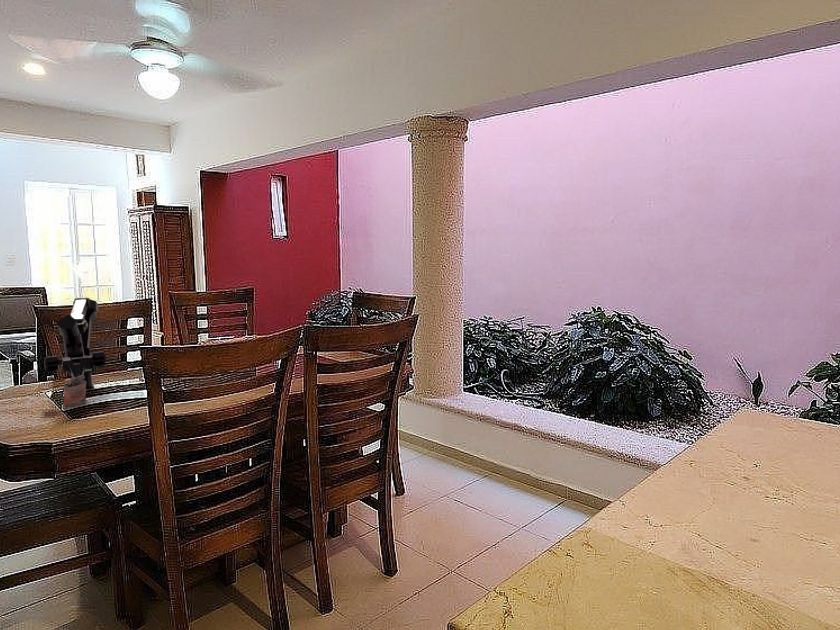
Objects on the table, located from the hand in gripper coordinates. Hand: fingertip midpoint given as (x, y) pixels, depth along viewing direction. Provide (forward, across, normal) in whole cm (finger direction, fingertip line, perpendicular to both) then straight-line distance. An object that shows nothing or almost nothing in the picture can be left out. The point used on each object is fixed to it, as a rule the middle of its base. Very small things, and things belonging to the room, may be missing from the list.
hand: (78, 380), depth 201 cm
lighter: (+6, +2, -5) cm, 8 cm away
